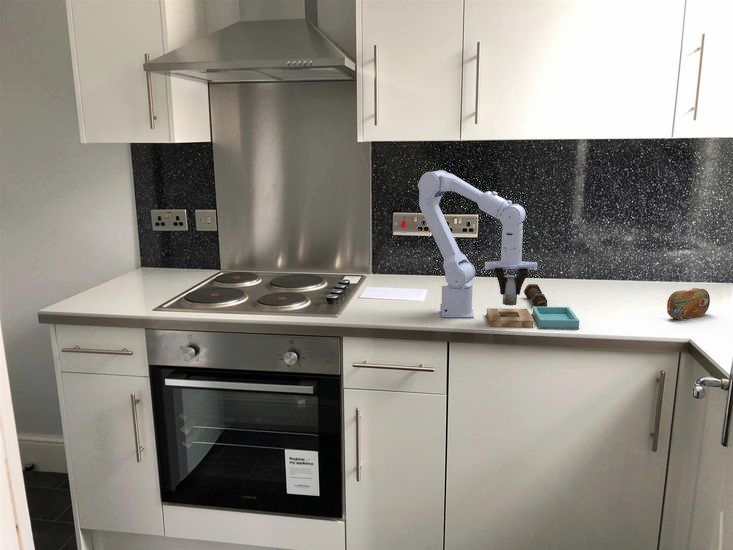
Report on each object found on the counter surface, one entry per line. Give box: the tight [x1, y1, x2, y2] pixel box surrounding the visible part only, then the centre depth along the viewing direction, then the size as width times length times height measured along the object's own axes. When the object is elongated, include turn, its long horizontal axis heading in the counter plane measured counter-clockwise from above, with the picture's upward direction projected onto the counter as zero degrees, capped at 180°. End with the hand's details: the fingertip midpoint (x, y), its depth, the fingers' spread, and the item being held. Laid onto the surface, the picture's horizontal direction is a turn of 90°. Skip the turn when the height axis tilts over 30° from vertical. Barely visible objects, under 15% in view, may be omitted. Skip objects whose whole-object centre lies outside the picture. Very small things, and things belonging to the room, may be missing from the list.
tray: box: [531, 306, 580, 330], centre depth 180 cm, size 11×14×2 cm
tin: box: [666, 287, 711, 321], centre depth 181 cm, size 15×3×8 cm, turn 114°
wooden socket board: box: [486, 307, 534, 329], centre depth 181 cm, size 12×12×2 cm
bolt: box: [523, 283, 548, 307], centre depth 198 cm, size 6×5×15 cm
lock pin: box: [502, 274, 518, 307], centre depth 179 cm, size 4×4×8 cm
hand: (509, 293), depth 180 cm, fingers closed on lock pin, 4 cm apart
